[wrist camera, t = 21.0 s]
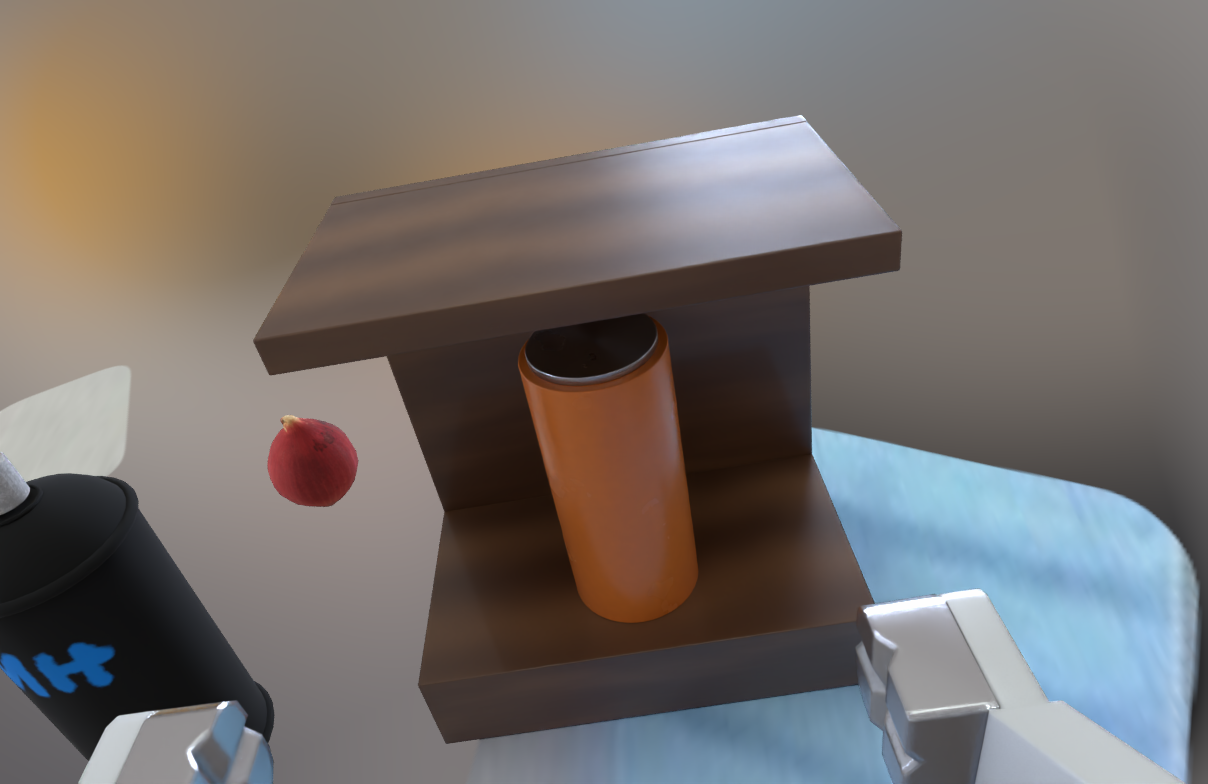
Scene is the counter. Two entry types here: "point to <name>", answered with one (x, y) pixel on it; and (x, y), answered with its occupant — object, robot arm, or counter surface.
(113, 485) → the aerosol can
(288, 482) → the onion
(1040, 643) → the counter surface
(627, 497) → the can
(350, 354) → the shelf
